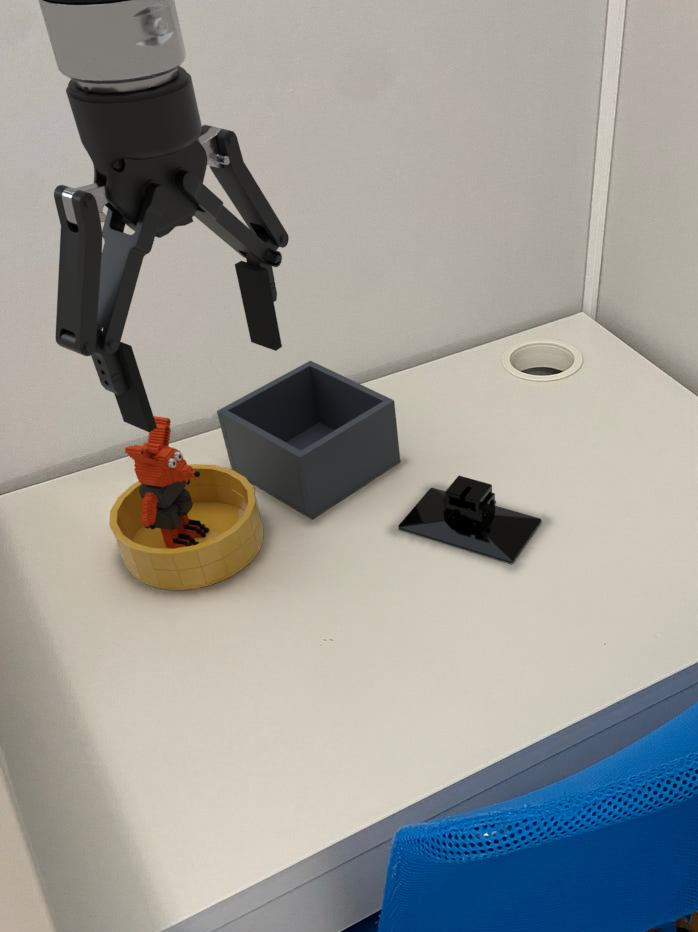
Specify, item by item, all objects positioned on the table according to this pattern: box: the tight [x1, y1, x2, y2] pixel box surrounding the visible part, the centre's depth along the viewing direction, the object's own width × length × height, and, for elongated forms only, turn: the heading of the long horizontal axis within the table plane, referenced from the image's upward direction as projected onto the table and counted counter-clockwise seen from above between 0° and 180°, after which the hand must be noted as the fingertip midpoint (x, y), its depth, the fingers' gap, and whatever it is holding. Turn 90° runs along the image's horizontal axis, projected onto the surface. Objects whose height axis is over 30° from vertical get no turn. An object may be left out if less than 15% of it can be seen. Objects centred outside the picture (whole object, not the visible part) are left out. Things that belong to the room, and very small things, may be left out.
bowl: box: [108, 463, 265, 591], centre depth 89 cm, size 13×13×4 cm
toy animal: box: [124, 415, 210, 549], centre depth 86 cm, size 8×6×12 cm
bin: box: [216, 360, 401, 520], centre depth 97 cm, size 13×13×8 cm
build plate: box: [397, 475, 542, 565], centre depth 90 cm, size 12×7×5 cm, turn 64°
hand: (207, 383), depth 72 cm, fingers open, 13 cm apart
